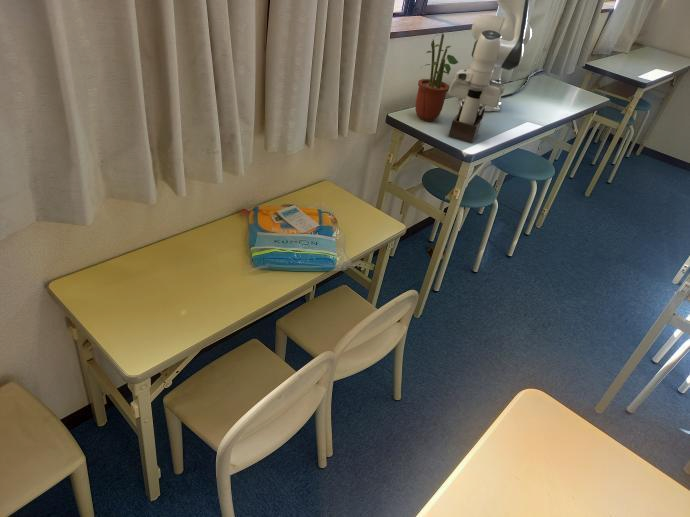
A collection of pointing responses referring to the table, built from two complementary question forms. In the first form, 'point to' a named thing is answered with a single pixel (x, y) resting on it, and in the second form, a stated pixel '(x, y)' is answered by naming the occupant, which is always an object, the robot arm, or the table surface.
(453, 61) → the potted plant
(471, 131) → the brown hinged box
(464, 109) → the travel mug
